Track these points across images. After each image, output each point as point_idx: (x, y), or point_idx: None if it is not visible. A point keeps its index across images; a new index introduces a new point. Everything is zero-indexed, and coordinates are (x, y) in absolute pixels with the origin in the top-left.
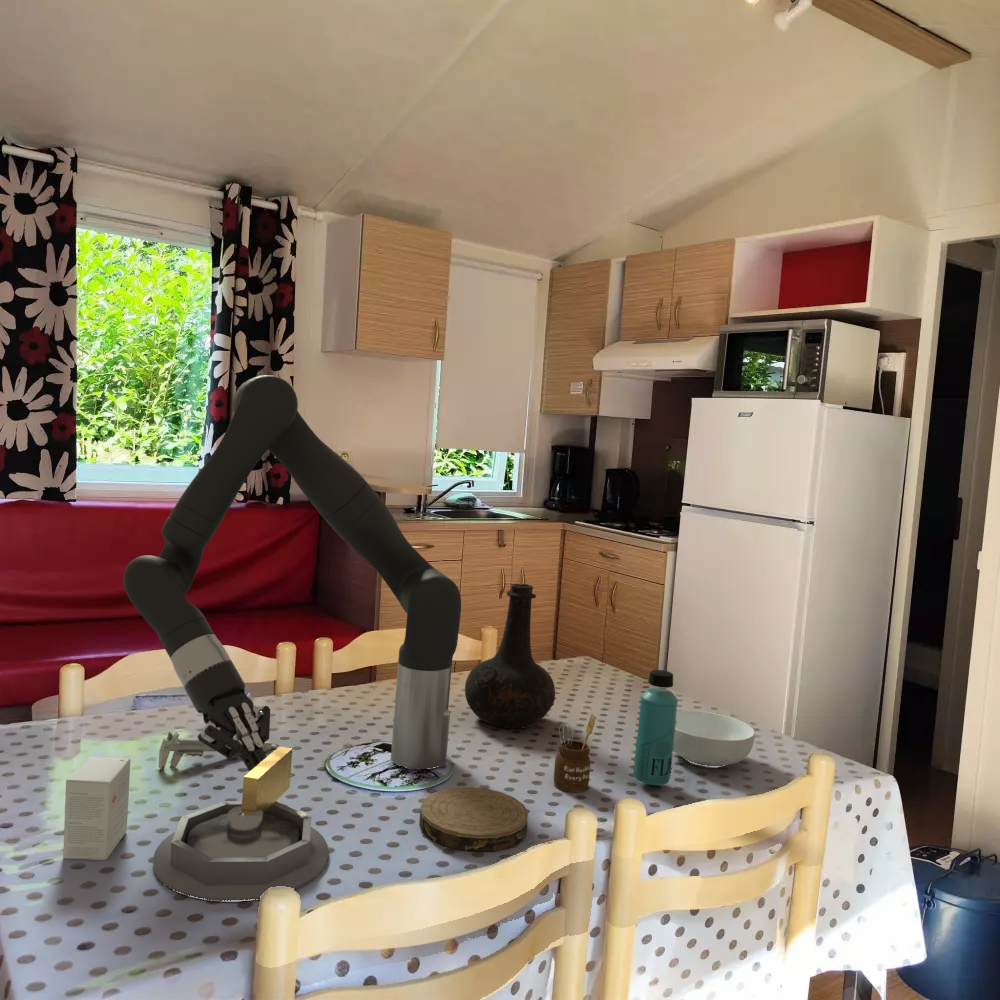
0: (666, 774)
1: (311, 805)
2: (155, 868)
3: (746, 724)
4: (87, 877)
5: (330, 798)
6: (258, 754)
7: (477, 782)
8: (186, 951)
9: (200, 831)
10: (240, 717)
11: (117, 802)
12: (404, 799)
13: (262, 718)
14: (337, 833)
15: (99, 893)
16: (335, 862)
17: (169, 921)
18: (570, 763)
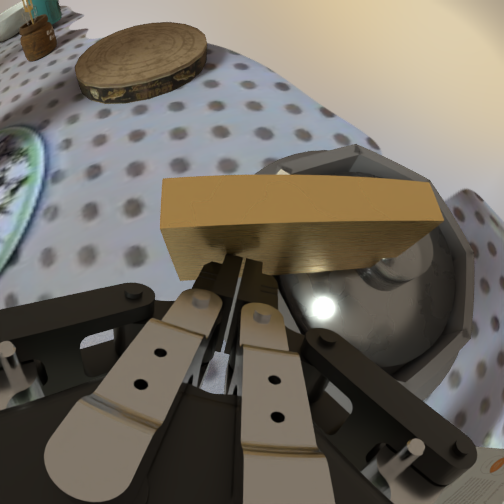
0: (60, 9)
1: (117, 253)
2: (456, 356)
3: (11, 7)
4: (476, 421)
5: (80, 234)
6: (243, 288)
7: (25, 100)
8: (496, 229)
9: (408, 341)
10: (181, 450)
11: (473, 477)
12: (70, 137)
13: (37, 338)
14: (213, 171)
15: (491, 378)
16: (301, 148)
17: (488, 270)
18: (48, 26)
